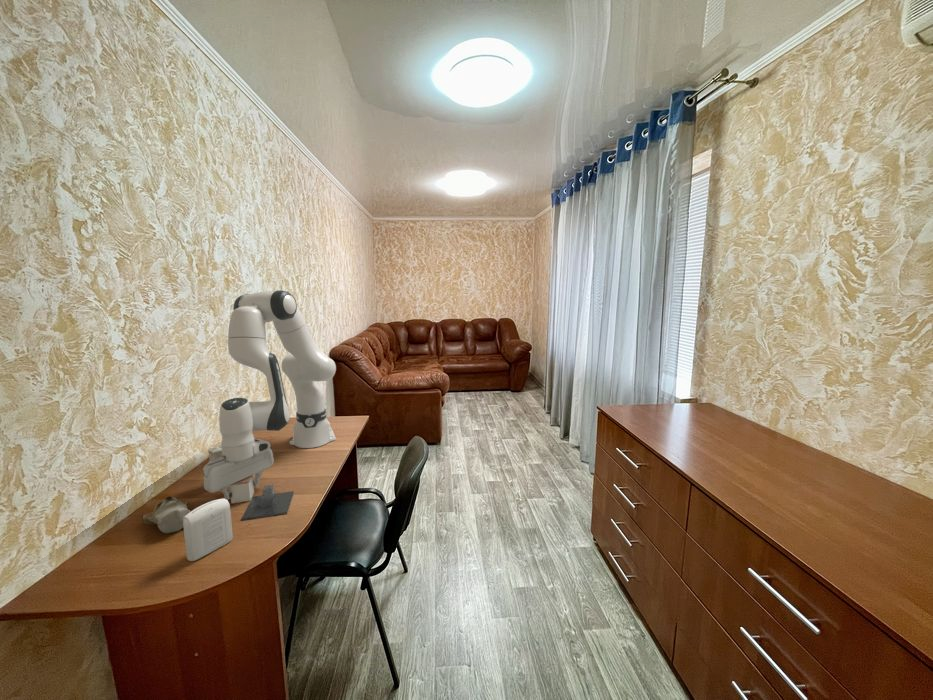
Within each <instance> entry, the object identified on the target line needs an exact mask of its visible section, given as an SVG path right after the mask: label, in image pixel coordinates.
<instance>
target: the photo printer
mask: <svg viewBox="0 0 933 700" xmlns="http://www.w3.org/2000/svg"><path fill="white" fill-rule="evenodd" d="M228 500H229V499H225V498H219V499H215V500H214V499H213V500H210V501H208V502H206V503H204V504H201V505H199V506H197V507H195V508H194V509H193V510H190V511H191V512H190V513H188V514H187V515H186V516H184V518H183V527H184V528H183V533H184V544H185V553H186V554H185V555H186V560H188V561H190V562H195V561H197V560H199V559H201V558H203V557H205V556H206V555H208V554H210V553H213V552H214V551H215V550H218V549H219V548H221V547H223V546H225V545H226V544H228V543H230V542H231V541H232V540H233V538H234V537H233V527H232V514H231V505H230V502H229V501H228Z"/></svg>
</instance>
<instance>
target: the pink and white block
mask: <svg viewBox="0 0 933 700" xmlns="http://www.w3.org/2000/svg"><path fill="white" fill-rule="evenodd" d="M253 479H254V475H252V476H249V477H247V478H245V479H243V480H240V481H238V482H236V483H234V484H231V485H229V491H230V492H232V497H231V498H230V501H231V504H238V503H244V502H250V501H251V499H252V497H253V496H254V494H255V486H254V484H253Z"/></svg>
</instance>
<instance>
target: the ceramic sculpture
mask: <svg viewBox="0 0 933 700" xmlns="http://www.w3.org/2000/svg"><path fill="white" fill-rule="evenodd" d="M189 506H190V503H189V501H187V502H185V501H183V500H181V499H180V498H179V497H176V496H167V497H166V498H164V499H161V500H160V501H159V502H157V503H156V504H155V506H154V508H153V511H152V512H150V513H146V514H141V521H142V522H143V524H146V525H157V527H158V529H159V531H160V532H162V533H164V534H171V533H177V532H179V531H180V530H182V529H184V527H183V518H184V516H186V515H187V514H188V513H190V512H191V511H192V510H190V509H188V508H189Z"/></svg>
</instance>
